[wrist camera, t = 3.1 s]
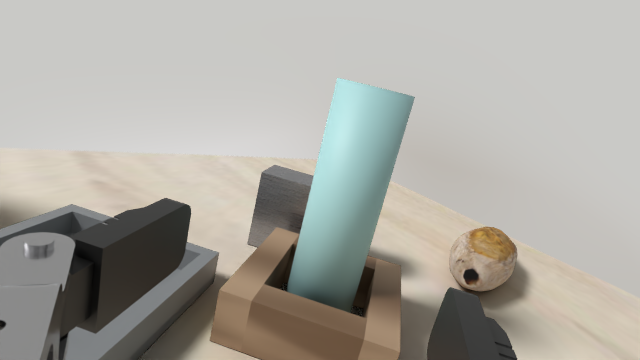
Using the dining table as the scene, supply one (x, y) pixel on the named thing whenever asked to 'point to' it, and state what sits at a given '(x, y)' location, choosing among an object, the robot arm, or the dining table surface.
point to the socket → (306, 311)
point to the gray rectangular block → (279, 203)
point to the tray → (146, 313)
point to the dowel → (348, 191)
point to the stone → (482, 259)
